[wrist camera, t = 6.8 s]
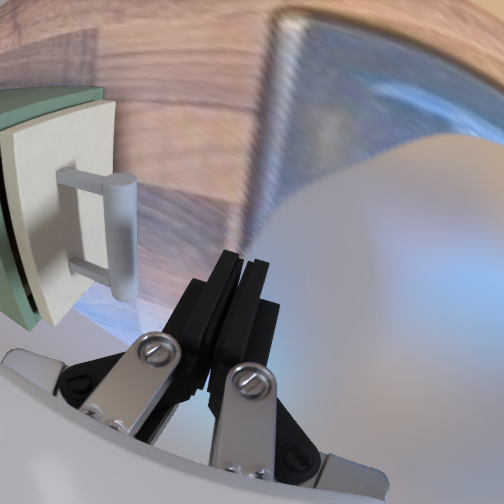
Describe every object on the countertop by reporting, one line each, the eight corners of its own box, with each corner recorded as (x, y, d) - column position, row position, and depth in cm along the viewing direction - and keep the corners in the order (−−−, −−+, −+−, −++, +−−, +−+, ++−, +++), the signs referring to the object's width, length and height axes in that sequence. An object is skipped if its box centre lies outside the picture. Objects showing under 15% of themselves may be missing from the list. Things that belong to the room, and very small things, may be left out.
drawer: (187, 110, 13) (91, 144, 7) (171, 279, 19) (117, 359, 13) (-2, 99, 14) (-73, 127, 9) (10, 216, 20) (-44, 258, 14)
